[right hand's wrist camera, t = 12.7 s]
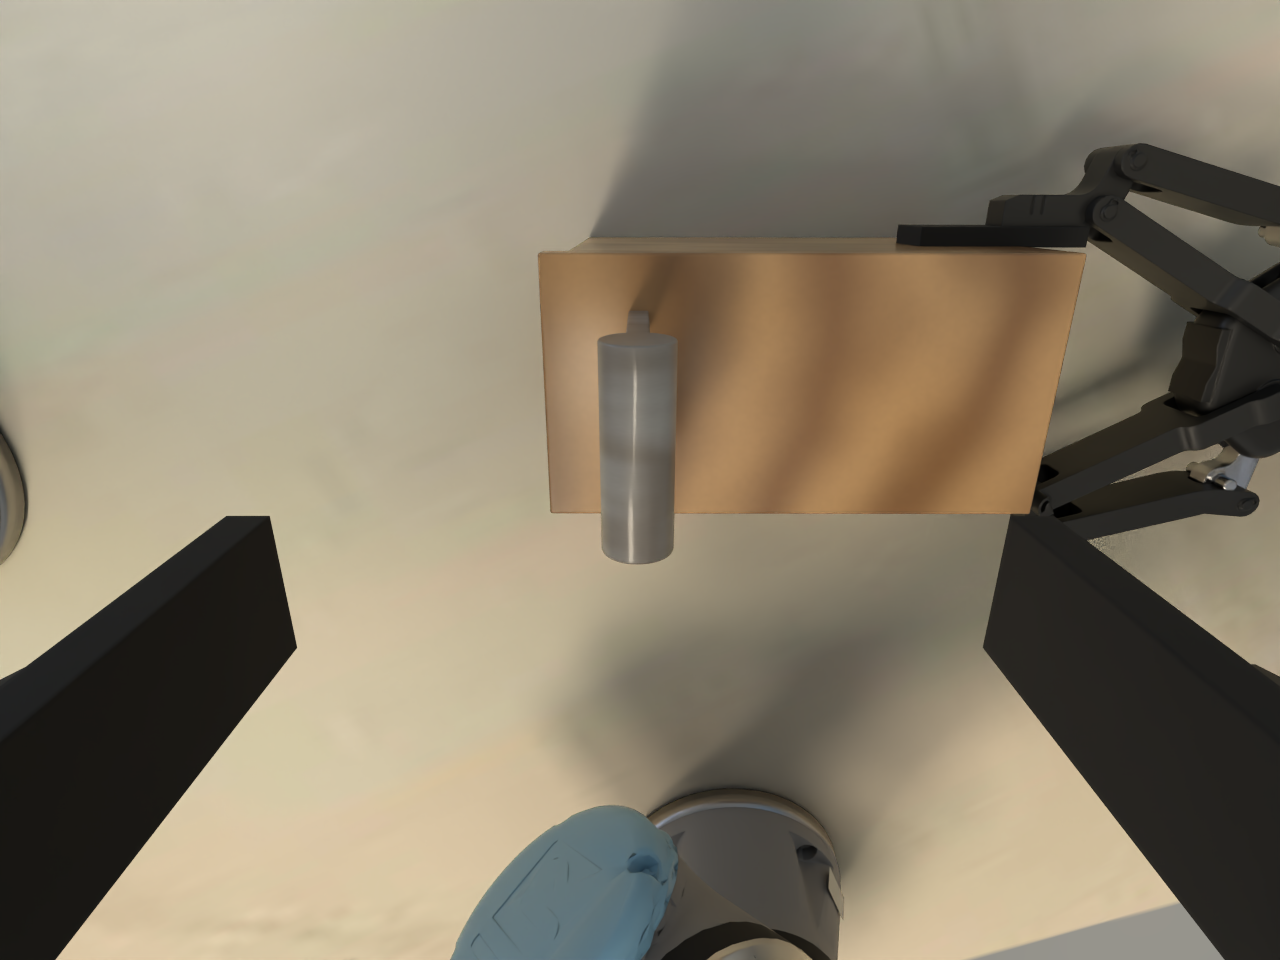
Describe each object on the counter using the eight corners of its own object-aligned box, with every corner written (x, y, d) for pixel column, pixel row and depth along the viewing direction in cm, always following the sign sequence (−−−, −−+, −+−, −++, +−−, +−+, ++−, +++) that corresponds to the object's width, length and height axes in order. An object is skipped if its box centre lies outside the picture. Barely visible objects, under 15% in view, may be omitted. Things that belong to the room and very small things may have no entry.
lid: (553, 503, 28) (519, 619, 20) (541, 250, 25) (494, 272, 17) (1017, 504, 28) (1163, 620, 20) (1070, 251, 25) (1272, 273, 17)
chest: (593, 423, 39) (575, 503, 28) (588, 237, 35) (566, 250, 25) (915, 423, 39) (1016, 503, 28) (943, 237, 35) (1069, 251, 25)
